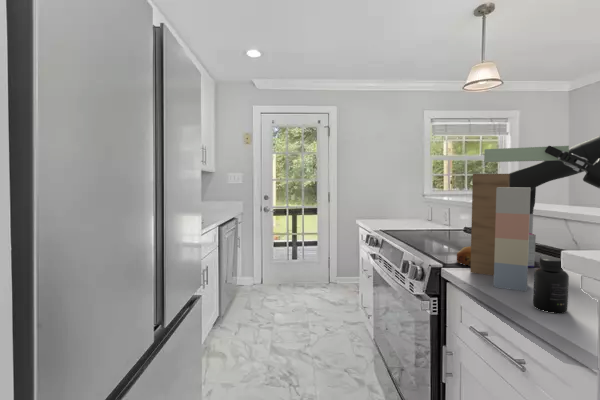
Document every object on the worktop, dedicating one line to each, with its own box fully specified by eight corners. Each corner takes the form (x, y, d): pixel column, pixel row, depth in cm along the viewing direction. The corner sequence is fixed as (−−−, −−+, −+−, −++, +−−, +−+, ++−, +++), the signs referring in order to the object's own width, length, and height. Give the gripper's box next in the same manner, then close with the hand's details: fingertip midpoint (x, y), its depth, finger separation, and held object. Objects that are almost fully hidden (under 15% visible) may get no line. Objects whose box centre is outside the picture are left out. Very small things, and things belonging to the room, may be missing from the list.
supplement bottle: (526, 304, 93) (527, 255, 92) (552, 303, 93) (554, 255, 92) (546, 314, 86) (548, 262, 85) (575, 313, 86) (577, 261, 86)
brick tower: (496, 280, 114) (499, 187, 112) (527, 284, 110) (530, 187, 108) (493, 286, 107) (496, 187, 106) (526, 291, 103) (530, 188, 101)
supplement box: (535, 267, 129) (536, 234, 129) (516, 267, 131) (517, 234, 130) (528, 264, 135) (529, 232, 134) (510, 263, 136) (511, 231, 136)
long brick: (485, 162, 125) (486, 149, 124) (567, 160, 113) (568, 146, 113) (484, 161, 121) (484, 149, 121) (568, 159, 110) (568, 145, 109)
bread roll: (486, 273, 137) (488, 251, 139) (483, 266, 129) (485, 243, 131) (457, 269, 142) (459, 249, 145) (452, 263, 134) (455, 241, 136)
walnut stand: (473, 267, 130) (476, 174, 128) (507, 271, 125) (510, 173, 123) (470, 272, 123) (472, 173, 121) (505, 276, 118) (508, 173, 116)
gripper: (613, 166, 111) (553, 139, 119) (622, 164, 99) (554, 135, 107) (596, 188, 114) (538, 160, 121) (603, 189, 102) (538, 159, 109)
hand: (546, 149), depth 114 cm, fingers closed on long brick, 4 cm apart
